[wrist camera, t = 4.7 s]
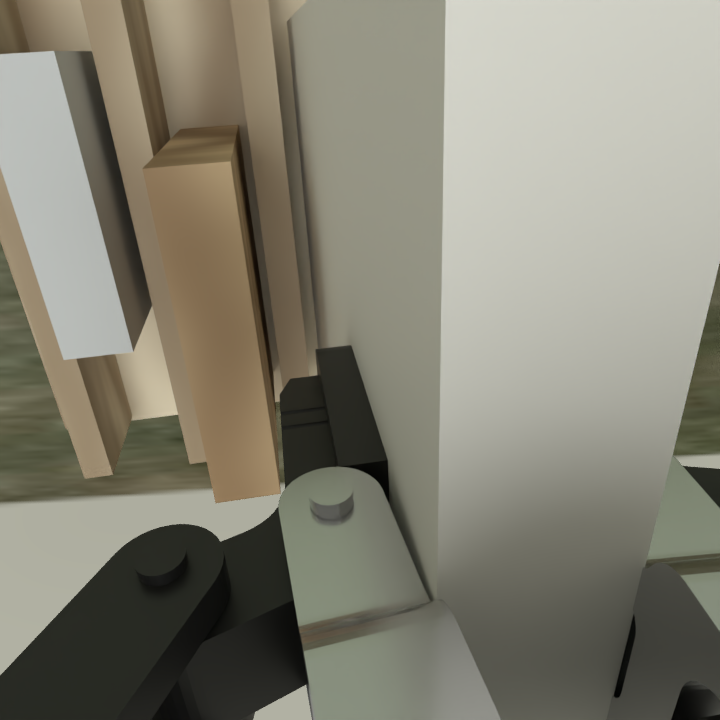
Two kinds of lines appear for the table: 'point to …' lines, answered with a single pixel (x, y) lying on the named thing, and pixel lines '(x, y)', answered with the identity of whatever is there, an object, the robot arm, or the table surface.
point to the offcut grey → (71, 201)
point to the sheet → (518, 296)
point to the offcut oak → (218, 304)
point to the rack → (134, 150)
